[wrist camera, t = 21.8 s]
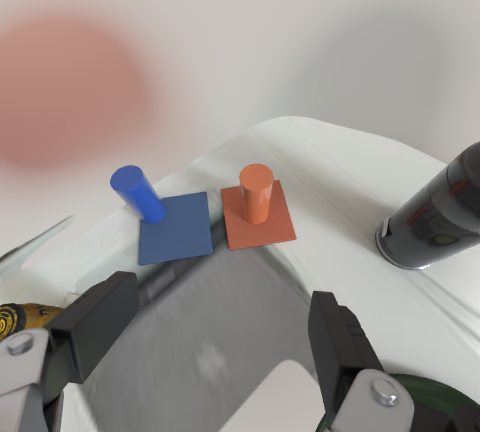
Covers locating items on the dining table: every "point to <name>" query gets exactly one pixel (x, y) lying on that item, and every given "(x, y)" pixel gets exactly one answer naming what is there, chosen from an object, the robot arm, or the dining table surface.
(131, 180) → the blue canister
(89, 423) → the dining table surface
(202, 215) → the blue mat
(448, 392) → the plate
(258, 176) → the terracotta canister
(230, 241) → the terracotta mat
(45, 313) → the condiment
